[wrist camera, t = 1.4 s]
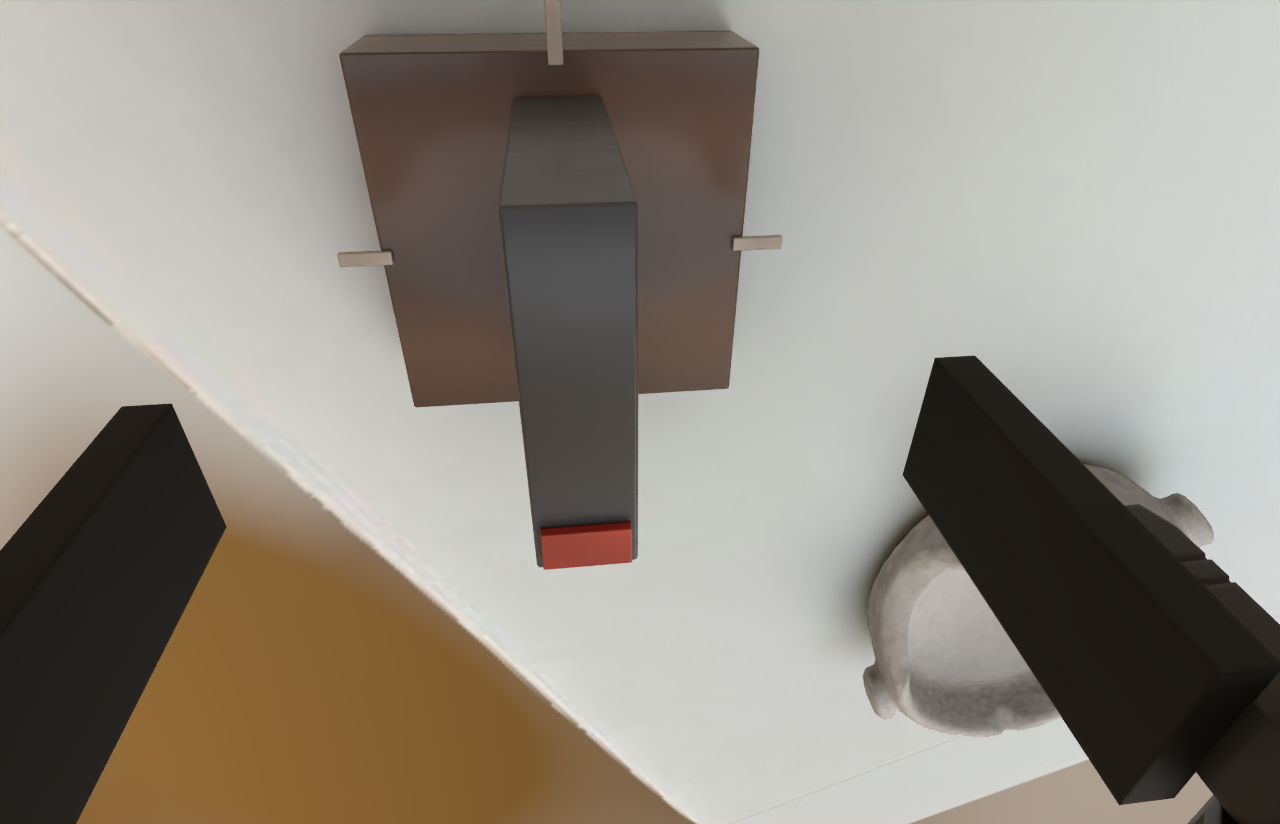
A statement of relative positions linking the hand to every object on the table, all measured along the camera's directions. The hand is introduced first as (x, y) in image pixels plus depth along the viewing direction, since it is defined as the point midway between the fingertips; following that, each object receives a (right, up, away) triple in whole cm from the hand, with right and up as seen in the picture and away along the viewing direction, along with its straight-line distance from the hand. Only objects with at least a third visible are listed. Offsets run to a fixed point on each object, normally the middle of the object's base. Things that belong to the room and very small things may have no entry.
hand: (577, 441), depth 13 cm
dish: (+18, -7, +22) cm, 29 cm away
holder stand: (-1, +7, +9) cm, 12 cm away
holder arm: (-1, +5, +7) cm, 9 cm away
